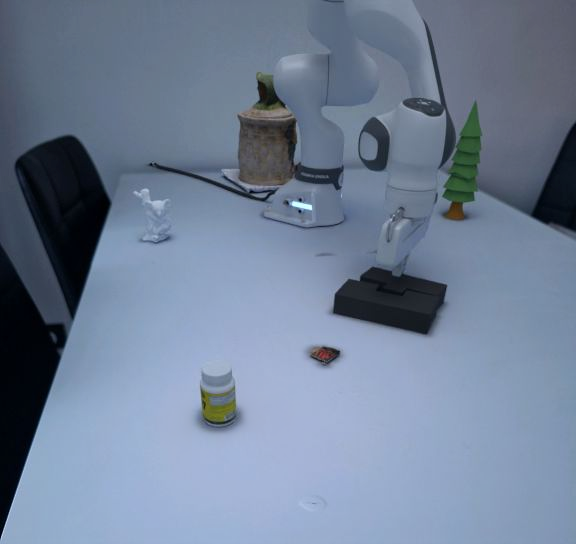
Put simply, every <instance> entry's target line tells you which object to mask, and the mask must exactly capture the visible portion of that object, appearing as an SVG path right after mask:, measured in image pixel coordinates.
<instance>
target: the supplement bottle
mask: <svg viewBox="0 0 576 544" xmlns="http://www.w3.org/2000/svg"><path fill="white" fill-rule="evenodd" d="M232 368H233V367H232V365H231V363H230V362H229V361H226V360H223V359H211V360H207V361H205V362H204V363H203V364H202V366H201V368H200V371H201V372H200V373H201V378H200V380H199V390H200V391H199V392H200V399H201V401H200V402H201V410H202V411H201V412H202V419H203V420H204V422H205V423H206V424H207V425H208V426H212V427H215V428H218V427H219V428H220V427H221V428H222V427H226V426H229V425H231V424H232V423H233V422H235V420H236V418H237V413H238V412H237V395H236V394H237V393H236V380H235V377H234V376H233V369H232Z"/></svg>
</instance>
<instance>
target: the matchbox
mask: <svg viewBox="0 0 576 544" xmlns="http://www.w3.org/2000/svg"><path fill="white" fill-rule="evenodd" d="M339 354H341V350H339V349H336V348H334V347H332V346H325V345H322V346H314V347H312V348H311V350H310V353H309V355H310V356H312V357H314V358H316V359H318V360H321V364H322V365H327V366H329V364H328V362H330V361H331V360H333V359H336V358H335V357H337V356H339Z"/></svg>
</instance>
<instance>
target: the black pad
mask: <svg viewBox="0 0 576 544" xmlns="http://www.w3.org/2000/svg"><path fill="white" fill-rule="evenodd" d="M359 281H363V282H368V283H373V284H378V285H380V287H379V292H384V293H389V294H394V295H399V296H403V294H404V293H405V291H406V290H408V291H413V292H418V293H423V294H428V295H433V296H438V297H440V298H439V303H438V308H437V311H438V310H439V309H440V308H441V307H442V306H443V304H444V303H445V298H446V294H447V289H448V284H446V283H443V282H437V281H433V280H429V279H427V278H422V277H417V276H413V275H410V274H405V273H402V275H401V276H400V277H398V276H393V275H392V270H389V269H385V268H381V267H377V266H371V267H370V268H369V269H367V270H366V271H364V272H363V273H361V274H360V277H359Z"/></svg>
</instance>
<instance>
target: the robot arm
mask: <svg viewBox="0 0 576 544" xmlns="http://www.w3.org/2000/svg"><path fill="white" fill-rule="evenodd" d="M306 12H307V13H306V27H307V30H308V32H309V34H310V36H312V38H313V39H314V40H315V41H316V42H317V43H319V44H321V45H322V46H324V48H327V49H328V50H329V51H330V53H304V52H303V53H301V52H300V53H295V54H290V55H286V56H282V57H281V58H280V59H279V61H277V63H276V65H275V67H274V69H273V70H274V71H273V74H272V75H273V85H274V89H275V92H276V94H277V96H278V97H279V99H280V100H281V101H282V102H283V103H284V104H285V106H286V107H287V108H288V109H289V110H290V111H291V112H292V113H293V115H294V116H295V118H296V120H297V122H296V124H297V126H298V129H299V136H300V161H299V162H297V164H294V165H295V166H294V167H293V168H292V169H293V170H292V172H294V177H293V178H292V179H291V180H289V181H288V182H287V183H285V184H284V185H283V186H282V187H280V188H278V189H275V190H270V191H269V192H268V193H267V194H266V195H265V196H264V197H258V196H255V195H252V194H250V193H248V192H246V191H245V192H244V191H242V190H239V189H237V188H234V187H232V186H229V185H227V184H224V183H221V182H219V181H217V180H214V179H210V178H208V177H205V176H202V175H199V174H195V173H192V172H189V171H185V170H181V169H177V168H174V167H169V166H164V165H161V164H158V163H157V162H155V163H154V164H152V163H151V162H149V164H148V166H150V167H152V166H155V167H156V168H158V169H163V170H166V171H170V172H175V173H178V174H181V175H186V176H189V177H192V178H196V179H199V180H202V181H205V182H208V183H210V184H212V185H216V186H219V187H221V188H224V189H225V190H228V191H231V192H233V193H236V194H238V195H241V196H244V197H247V198H250V199H252V200H255V201H259V202H264V201H268V199H270V197H272V196H273V198H272V202H271V205H269V206H268V207H266V208H265V209H264V211H263V217H264V218H267V219H270V220H274V221H279V222H282V223H286V224H291V225H294V226H298V227H302V228H314V227H324V226H325V227H326V226H333V225H337V224H340V223H342V222H343V221H344V220H345V215H344V209H343V199H342V198H343V195H342V188H343V185H344V177H345V173H344V169H345V166H344V163H343V162H344V149H345V148H344V147H345V134H344V131H343V130H342V128H341V127H340V126H339V125H337V124H336V123H335V122H333V121H331V120H329V119H328V118H326V117H325V116H324V115H323V113H322V108H323V107H355V106H360V105H365V104H369V103H370V102H371V101H372V100H373V99H374V98H375V97H376V94H377V92H378V89H379V87H380V82H381V81H380V79H381V78H380V77H381V75H380V71H379V67H378V65H377V63H376V61H375V60H374V58H372V57H370V56H369V55H368V54H367V52H366V51H365V49H364V47H363V45H362V43H361V42H363V44H365V45H367V46H368V47H371V48H373V49H376V50H378V51H380V52H383V53H384V54H386V55H387V56H390V57H391V58H392V59H394V60H396V62H398V63H399V65H401V67H402V68H403V70H404V72H405V73H406V76H407V80H408V85H409V89H410V94H411V97H409V98H405V99H403V100H401V102H400V103H399V104H398V106H397V107H396V108H394V109H393V110H391V111H389V112H386V113H382V114H380V115H376V116H372V117H370V118H369V119H368V120H367V121H366V122H365V123H364V125H363V126H362V128H361V131H360V133H359V135H358V142H357V151H358V158H359V159H360V161H361V162H362V164H363V165H364V167H366V169H368V170H369V171H371V172H377V173H387V175H388V177H387V181H386V183H385V184H386V185H385V193H384V200H383V201H384V202H383V211H384V212H385V213H387V214H389V217H388V219H387V220H385V221H384V223H382V227H381V228H380V229H381V230H380V233H379V238H378V243H377V244H378V245H377V249H376V250H377V251H376V257H375V260H376V265H378V266H379V267H383V268H388V269H392V270H391V271H392V275H393V276H398V277H400V276H401V275H402V274H404V273H405V272H406V269H407V264H408V261H409V258H410V256H411V252H412V251H413V249H415V247H416V246H417V245H419V244H420V243H421V241H422V240H423V239H424V238H425V237H426V235H427V233H428V229H429V226H430V221H431V217H432V215H433V212H434V207H435V205H437V203H438V198H439V192H438V191H437V190H438V172H439V170H440V169H441V168H442V167H444V165H445V164H446V163H447V162H448V161H449V159H450V158H451V156H452V155H453V153H454V151H455V149H456V148H455V147H456V145H457V132H456V128H455V125H454V122H453V119H452V117H451V114H450V112H449V109H448V106H447V102H446V98H445V97H446V96H445V93H444V88H443V87H444V86H443V83H442V82H443V81H442V77H441V74H440V73H441V72H440V69H439V65H438V59H437V55H436V50H435V49H436V48H435V45H434V41H433V37H432V34H431V31H430V28H429V25H428V23H427V22H426V20H425V19H424V18H423V17H422V16H421V15H420V13H419V10H418V9H417V7H416V5H415V3H414V1H413V0H307V11H306Z"/></svg>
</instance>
